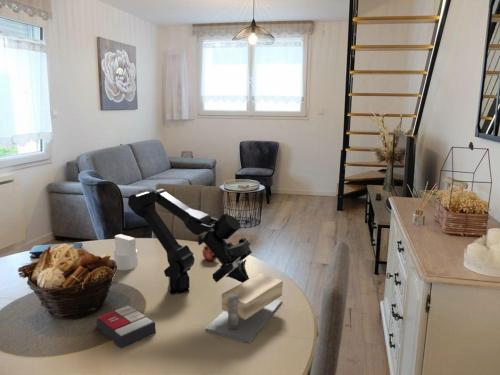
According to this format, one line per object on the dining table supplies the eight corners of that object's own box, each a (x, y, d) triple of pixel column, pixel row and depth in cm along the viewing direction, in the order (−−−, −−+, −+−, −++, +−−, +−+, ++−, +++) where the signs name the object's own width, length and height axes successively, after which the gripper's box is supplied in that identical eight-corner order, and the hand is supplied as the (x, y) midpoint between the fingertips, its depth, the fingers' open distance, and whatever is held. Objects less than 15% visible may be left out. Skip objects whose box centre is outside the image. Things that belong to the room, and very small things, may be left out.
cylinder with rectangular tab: (142, 264, 166) (141, 236, 163) (125, 272, 158) (123, 242, 156) (127, 259, 171) (126, 231, 168) (109, 266, 163) (107, 238, 160)
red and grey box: (129, 303, 128) (155, 319, 118) (130, 316, 129) (156, 333, 119) (95, 316, 121) (120, 334, 110) (96, 329, 122) (121, 349, 111)
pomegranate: (210, 259, 177) (194, 250, 171) (220, 245, 178) (204, 236, 172) (218, 267, 171) (202, 258, 165) (228, 253, 172) (212, 243, 166)
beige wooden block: (218, 324, 122) (218, 292, 120) (259, 298, 138) (259, 270, 136) (241, 334, 117) (242, 302, 115) (281, 306, 133) (282, 277, 130)
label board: (205, 330, 120) (205, 327, 120) (244, 293, 143) (244, 290, 143) (248, 343, 114) (248, 340, 114) (282, 302, 137) (282, 299, 137)
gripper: (221, 242, 123) (254, 283, 121) (246, 224, 139) (276, 260, 137) (198, 262, 127) (230, 302, 126) (226, 242, 144) (254, 277, 142)
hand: (249, 284), depth 133 cm, fingers closed, pressing on beige wooden block
